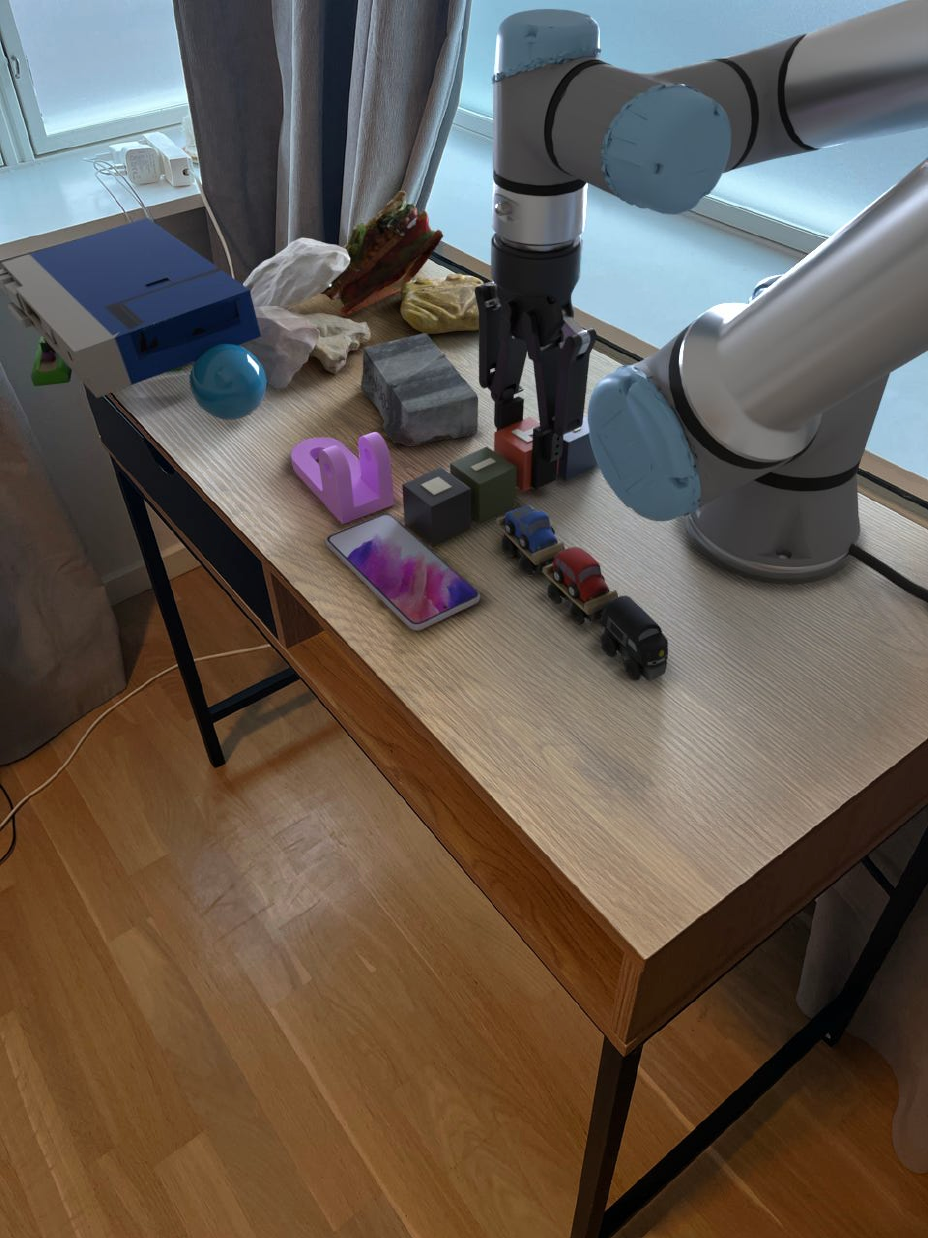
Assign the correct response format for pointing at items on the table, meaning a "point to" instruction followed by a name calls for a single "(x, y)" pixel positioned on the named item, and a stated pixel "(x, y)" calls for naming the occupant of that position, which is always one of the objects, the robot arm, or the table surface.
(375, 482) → the bracket
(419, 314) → the sculpture
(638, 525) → the table surface
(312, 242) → the fragment
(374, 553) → the smartphone
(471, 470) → the block
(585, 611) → the toy train
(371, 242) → the sandwich
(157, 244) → the electronic device
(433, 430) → the stone block
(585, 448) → the block
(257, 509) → the table surface
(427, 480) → the block
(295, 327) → the stone tool
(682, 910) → the table surface
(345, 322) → the stone
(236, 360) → the ball
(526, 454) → the letter block
